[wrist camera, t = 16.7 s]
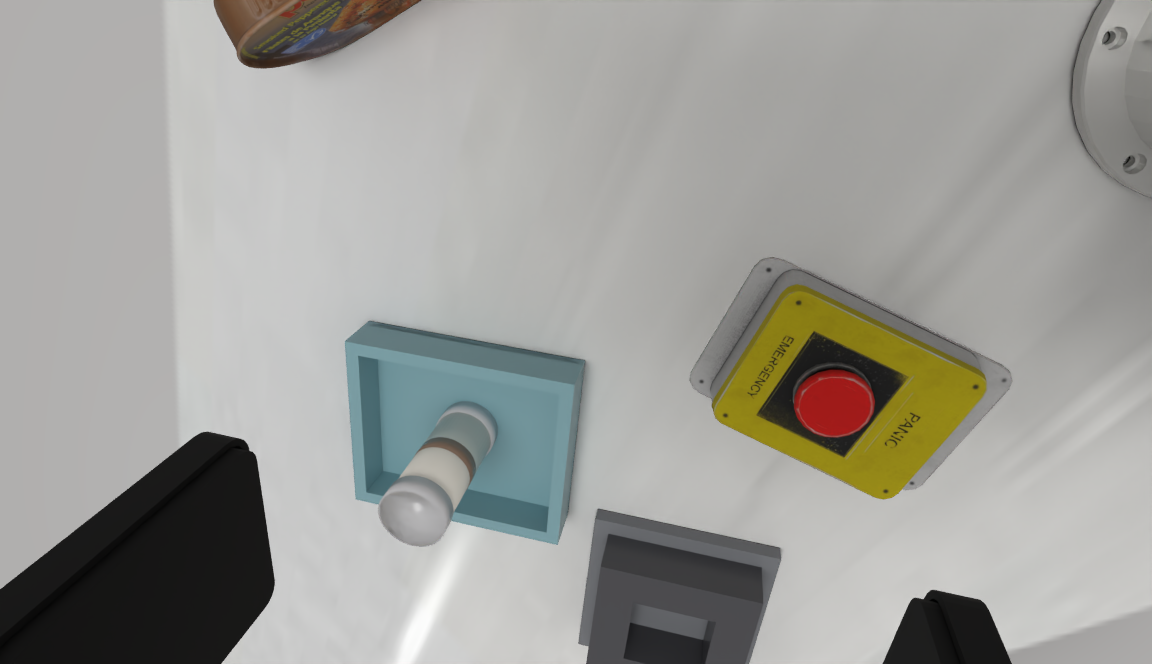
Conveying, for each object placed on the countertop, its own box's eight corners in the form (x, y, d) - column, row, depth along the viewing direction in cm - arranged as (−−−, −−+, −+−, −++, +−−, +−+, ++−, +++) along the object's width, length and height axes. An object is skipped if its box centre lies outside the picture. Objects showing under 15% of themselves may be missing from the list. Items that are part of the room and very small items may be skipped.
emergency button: (766, 276, 32) (1051, 412, 32) (763, 247, 36) (1017, 369, 36) (678, 419, 36) (928, 540, 36) (684, 379, 40) (910, 488, 40)
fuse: (499, 407, 43) (445, 498, 35) (496, 456, 44) (444, 553, 36) (442, 396, 43) (376, 482, 35) (442, 444, 45) (379, 537, 37)
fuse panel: (780, 548, 43) (784, 595, 40) (742, 672, 49) (743, 723, 45) (598, 508, 45) (586, 551, 42) (581, 632, 50) (569, 679, 47)
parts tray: (584, 360, 40) (574, 384, 38) (567, 514, 46) (557, 544, 43) (369, 320, 43) (344, 341, 40) (376, 472, 48) (355, 499, 45)
